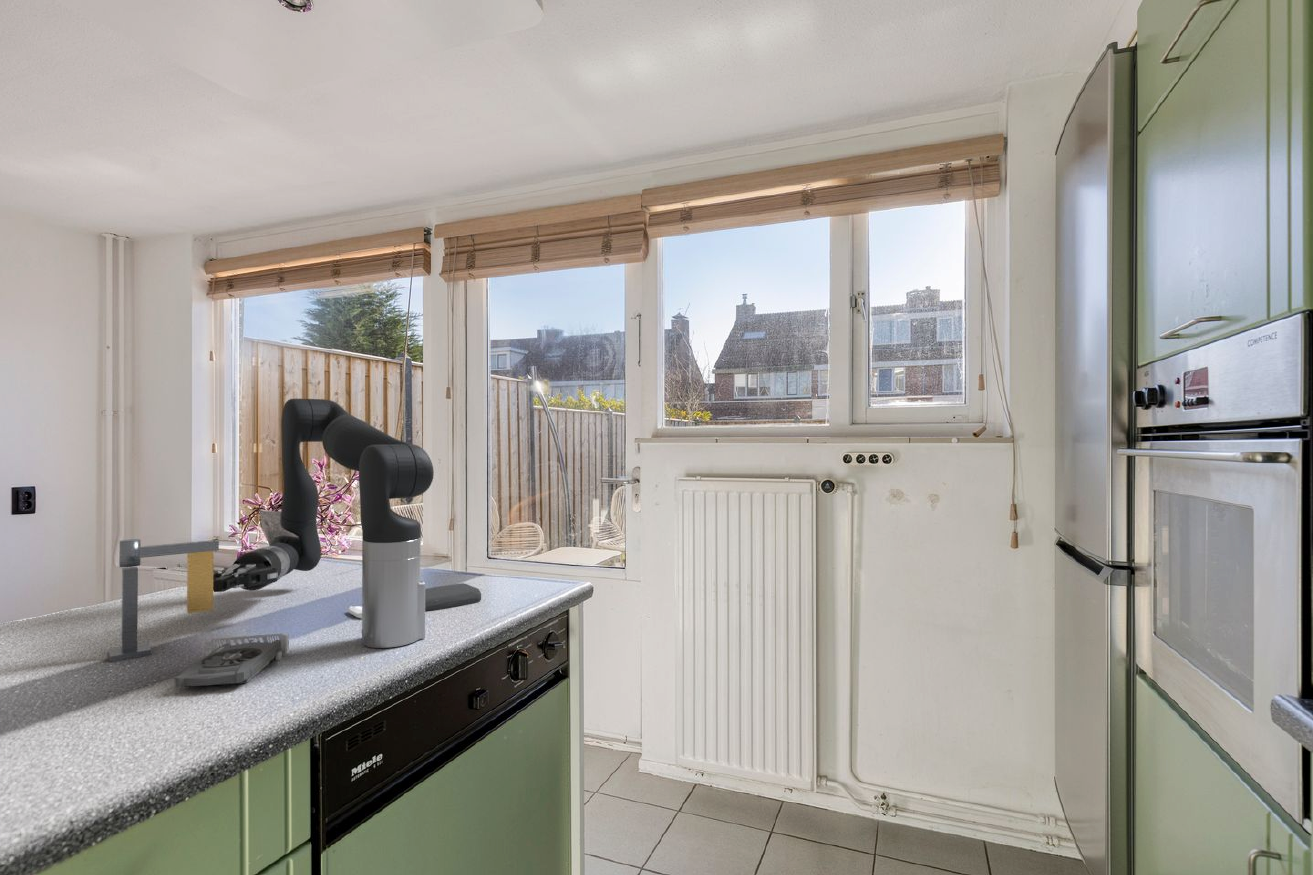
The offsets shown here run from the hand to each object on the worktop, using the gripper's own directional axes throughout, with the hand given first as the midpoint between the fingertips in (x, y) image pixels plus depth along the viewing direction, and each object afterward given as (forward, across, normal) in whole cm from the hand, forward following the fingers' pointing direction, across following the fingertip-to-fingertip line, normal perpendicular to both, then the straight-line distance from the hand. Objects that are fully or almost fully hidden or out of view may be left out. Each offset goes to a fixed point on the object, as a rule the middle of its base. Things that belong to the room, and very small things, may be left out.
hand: (218, 586), depth 114 cm
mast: (+9, -8, +8) cm, 15 cm away
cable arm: (+6, -4, +3) cm, 8 cm away
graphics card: (+20, +10, +9) cm, 24 cm away
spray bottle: (-16, +30, +9) cm, 35 cm away
